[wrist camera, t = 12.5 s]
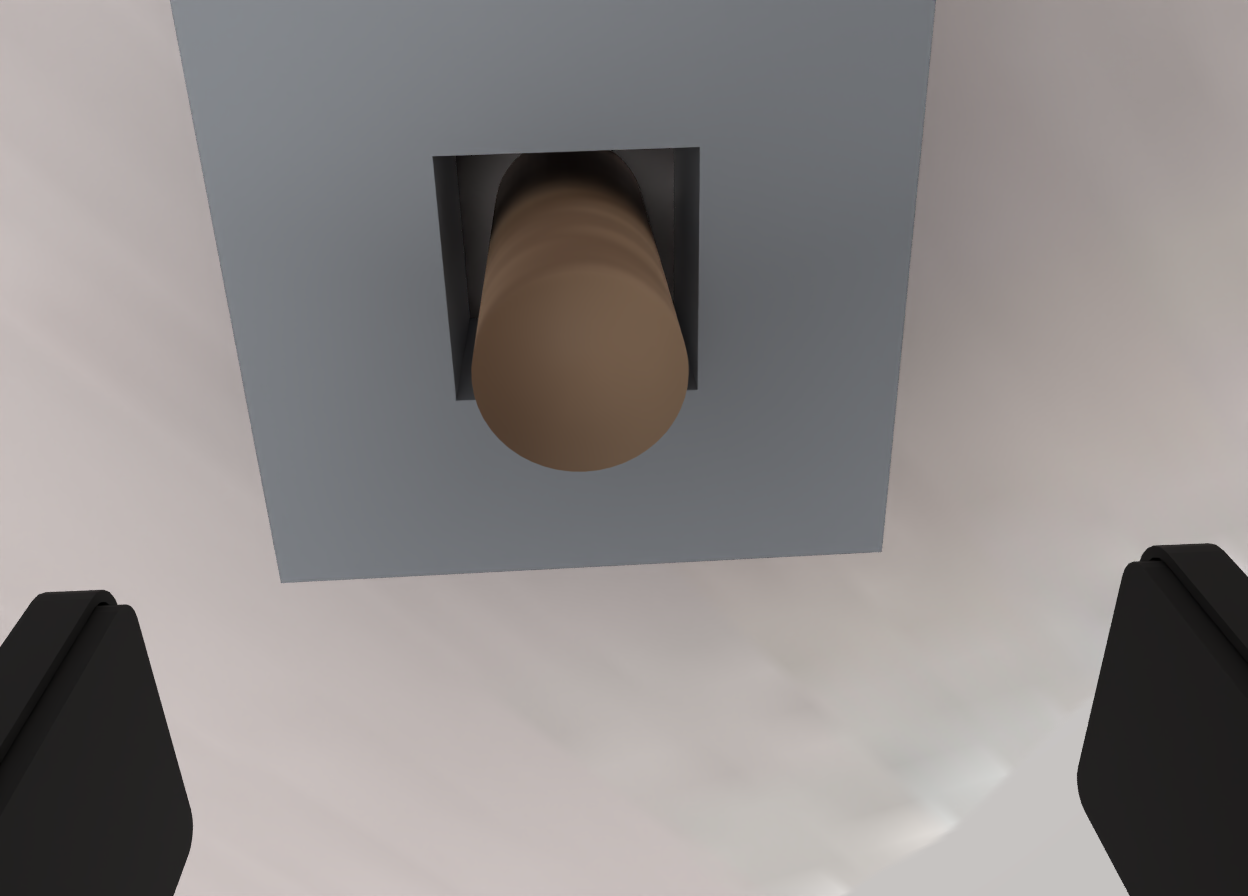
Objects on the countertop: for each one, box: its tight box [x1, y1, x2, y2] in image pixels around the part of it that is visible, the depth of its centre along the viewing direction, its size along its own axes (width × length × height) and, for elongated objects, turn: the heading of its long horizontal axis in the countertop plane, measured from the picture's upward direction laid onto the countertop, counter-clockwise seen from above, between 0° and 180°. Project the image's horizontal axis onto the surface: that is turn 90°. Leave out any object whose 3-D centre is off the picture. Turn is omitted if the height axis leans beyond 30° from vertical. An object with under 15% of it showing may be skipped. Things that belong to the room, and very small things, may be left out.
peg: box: [471, 150, 689, 472], centre depth 23 cm, size 4×4×10 cm
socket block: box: [170, 0, 936, 583], centre depth 25 cm, size 14×14×5 cm
